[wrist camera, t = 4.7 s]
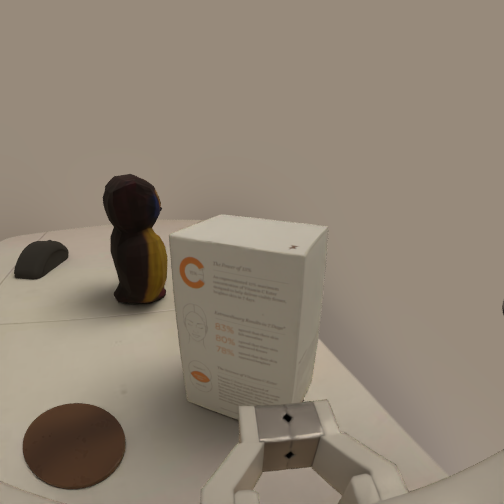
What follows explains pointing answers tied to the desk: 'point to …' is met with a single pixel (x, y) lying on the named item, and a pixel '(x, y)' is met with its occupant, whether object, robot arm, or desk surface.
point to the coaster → (74, 445)
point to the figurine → (135, 239)
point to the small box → (248, 309)
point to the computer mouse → (40, 259)
